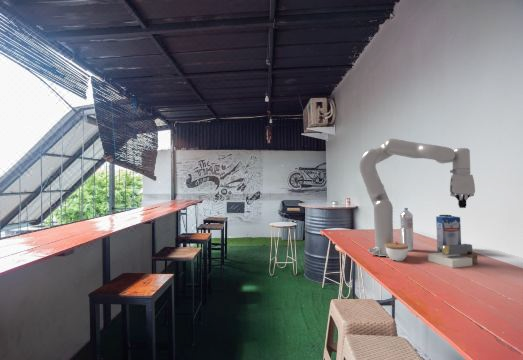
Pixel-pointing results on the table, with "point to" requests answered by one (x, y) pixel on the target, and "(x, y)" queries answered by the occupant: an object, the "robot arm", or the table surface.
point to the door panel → (450, 260)
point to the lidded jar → (396, 251)
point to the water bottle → (407, 229)
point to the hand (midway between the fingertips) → (462, 207)
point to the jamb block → (473, 256)
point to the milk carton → (448, 231)
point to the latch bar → (456, 249)
